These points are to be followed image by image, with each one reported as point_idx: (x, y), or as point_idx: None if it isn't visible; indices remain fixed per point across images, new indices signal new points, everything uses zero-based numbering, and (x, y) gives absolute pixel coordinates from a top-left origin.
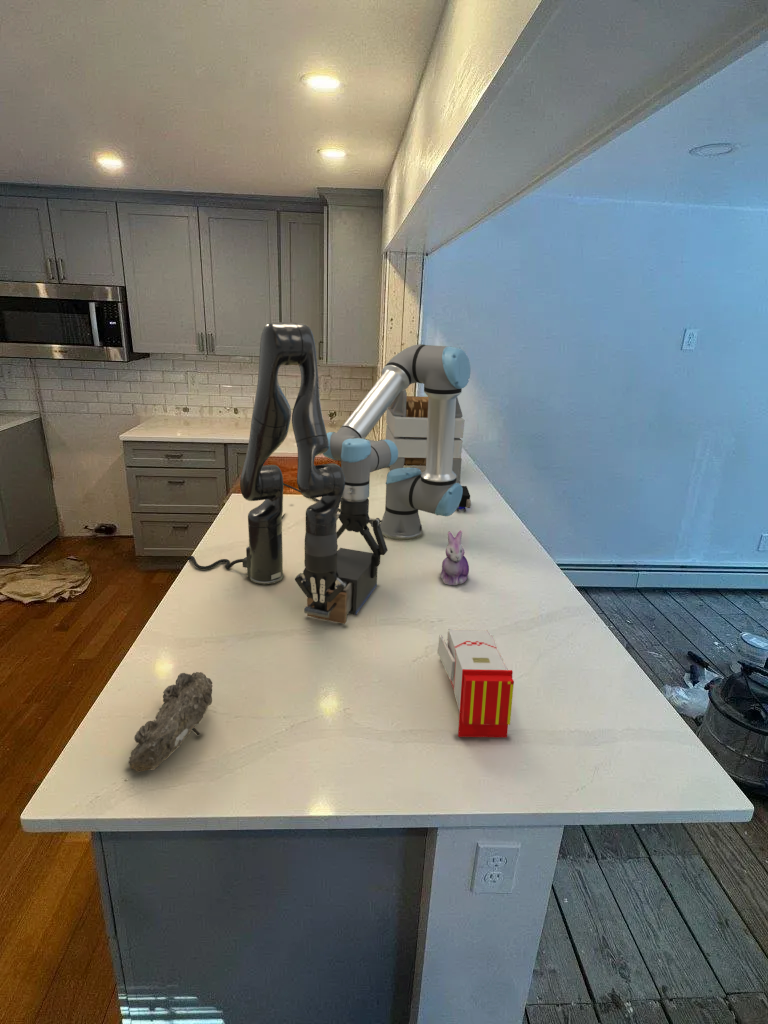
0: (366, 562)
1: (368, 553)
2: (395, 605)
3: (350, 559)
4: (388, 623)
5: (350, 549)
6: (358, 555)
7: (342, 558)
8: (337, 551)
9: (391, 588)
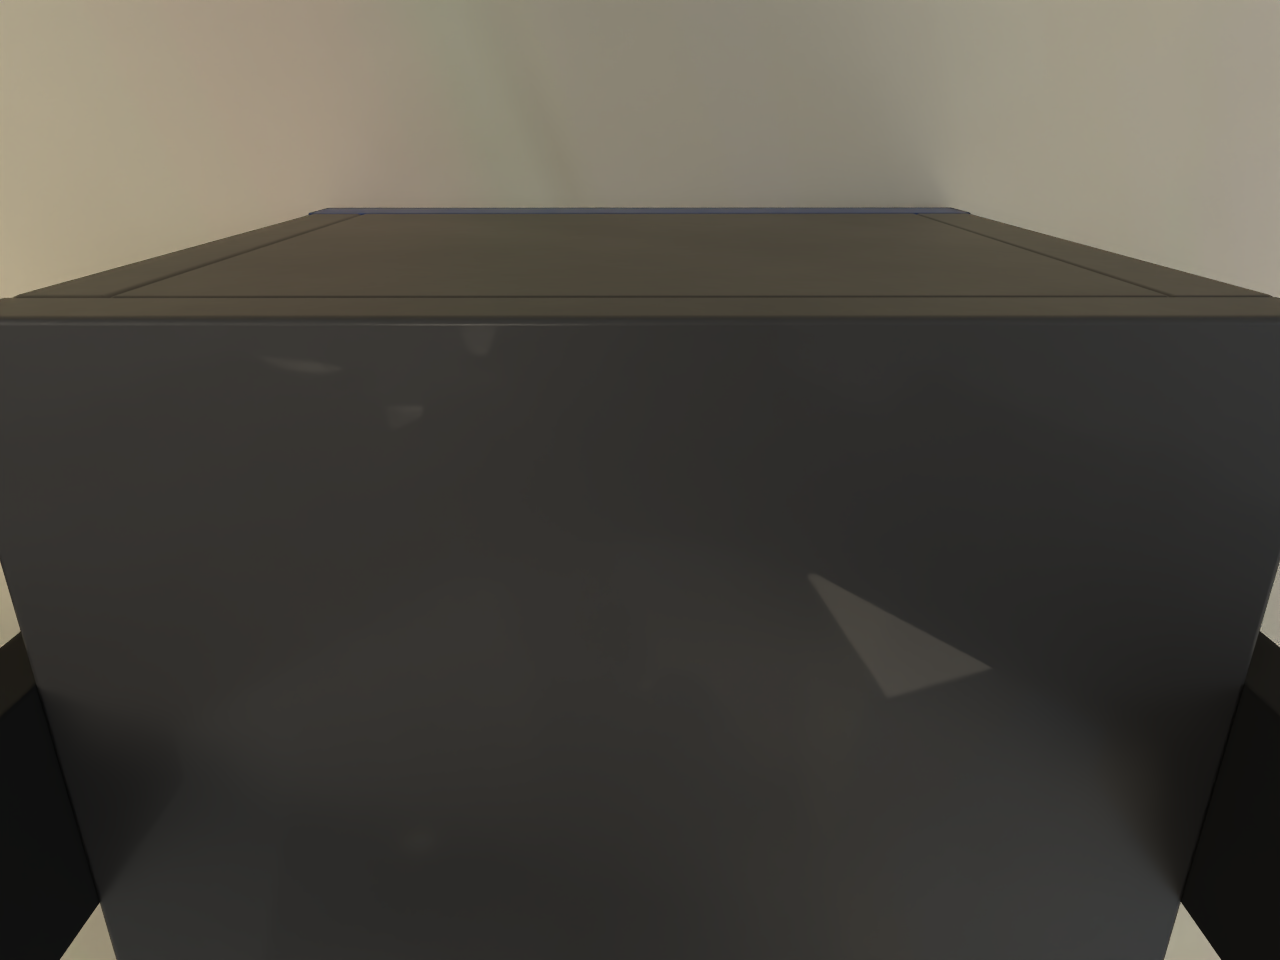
0: (1060, 936)
1: (1011, 414)
2: (1268, 628)
3: (620, 923)
4: (1210, 949)
5: (320, 334)
6: (739, 653)
7: (410, 938)
8: (43, 631)
9: (1187, 201)
